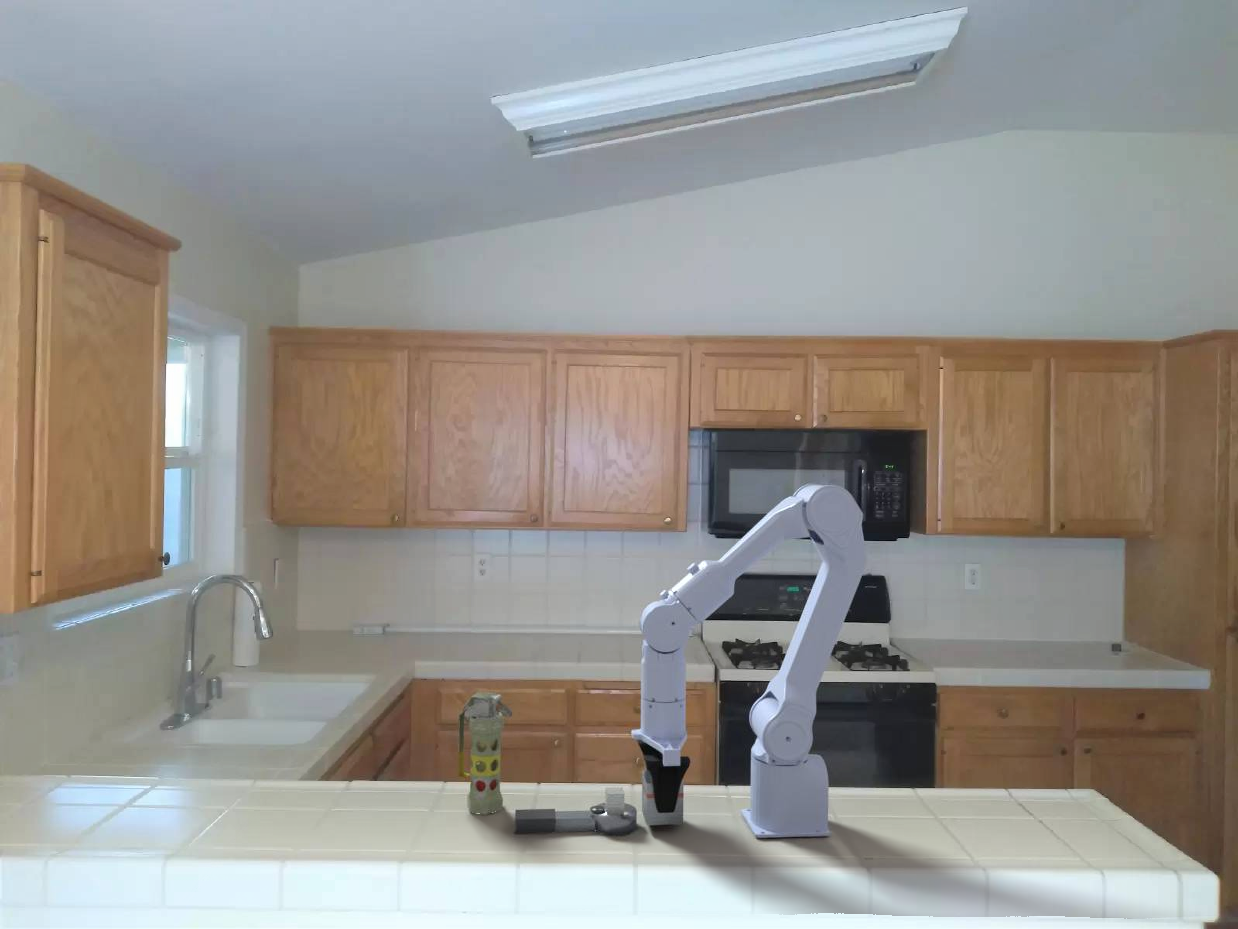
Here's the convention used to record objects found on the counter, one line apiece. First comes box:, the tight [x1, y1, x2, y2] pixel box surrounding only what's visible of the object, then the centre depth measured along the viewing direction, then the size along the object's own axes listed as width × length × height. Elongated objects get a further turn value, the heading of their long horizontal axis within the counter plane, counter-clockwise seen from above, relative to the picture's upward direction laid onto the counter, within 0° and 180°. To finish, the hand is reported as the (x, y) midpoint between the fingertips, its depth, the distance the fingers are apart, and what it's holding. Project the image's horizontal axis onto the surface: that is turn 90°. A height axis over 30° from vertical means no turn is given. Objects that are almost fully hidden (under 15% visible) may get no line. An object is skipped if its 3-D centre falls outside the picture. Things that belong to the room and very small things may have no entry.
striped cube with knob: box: [641, 769, 684, 826], centre depth 110 cm, size 5×5×6 cm
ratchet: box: [514, 786, 638, 837], centre depth 109 cm, size 15×6×4 cm, turn 96°
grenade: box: [457, 691, 514, 815], centre depth 115 cm, size 6×7×15 cm
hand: (662, 803), depth 110 cm, fingers closed on striped cube with knob, 5 cm apart
